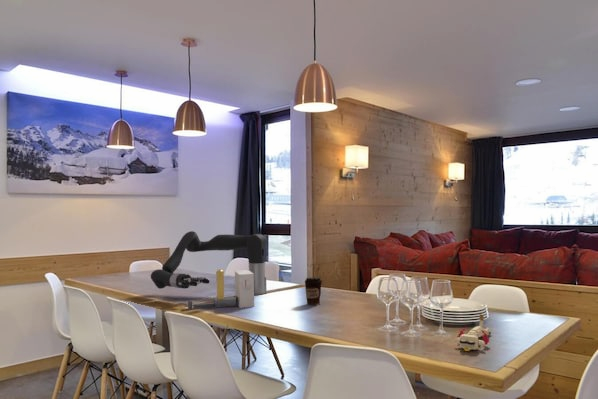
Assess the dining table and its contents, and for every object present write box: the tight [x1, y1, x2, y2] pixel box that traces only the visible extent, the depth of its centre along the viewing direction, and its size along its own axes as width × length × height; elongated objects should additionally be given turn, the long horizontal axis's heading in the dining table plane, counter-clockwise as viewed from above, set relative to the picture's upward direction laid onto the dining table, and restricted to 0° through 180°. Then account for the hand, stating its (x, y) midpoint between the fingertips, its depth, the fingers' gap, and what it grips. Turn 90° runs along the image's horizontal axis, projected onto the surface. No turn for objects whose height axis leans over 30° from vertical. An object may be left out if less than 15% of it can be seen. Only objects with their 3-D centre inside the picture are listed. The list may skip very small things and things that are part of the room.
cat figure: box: [454, 313, 492, 352], centre depth 159 cm, size 10×9×25 cm
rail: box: [187, 300, 239, 311], centre depth 228 cm, size 26×4×4 cm, turn 107°
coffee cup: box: [304, 276, 323, 306], centre depth 228 cm, size 9×8×13 cm
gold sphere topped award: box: [213, 269, 237, 308], centre depth 229 cm, size 10×7×18 cm
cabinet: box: [234, 269, 255, 309], centre depth 231 cm, size 8×15×16 cm, turn 17°
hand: (202, 282), depth 235 cm, fingers open, 8 cm apart
